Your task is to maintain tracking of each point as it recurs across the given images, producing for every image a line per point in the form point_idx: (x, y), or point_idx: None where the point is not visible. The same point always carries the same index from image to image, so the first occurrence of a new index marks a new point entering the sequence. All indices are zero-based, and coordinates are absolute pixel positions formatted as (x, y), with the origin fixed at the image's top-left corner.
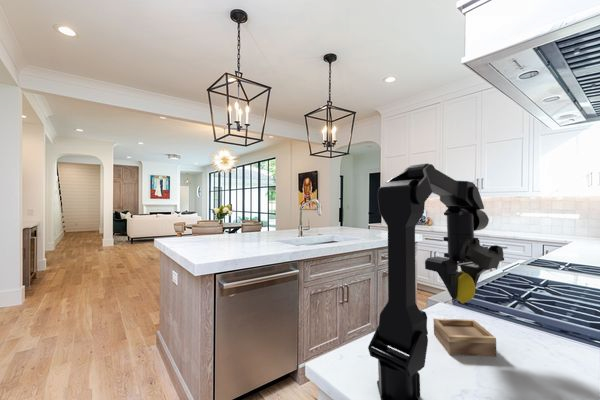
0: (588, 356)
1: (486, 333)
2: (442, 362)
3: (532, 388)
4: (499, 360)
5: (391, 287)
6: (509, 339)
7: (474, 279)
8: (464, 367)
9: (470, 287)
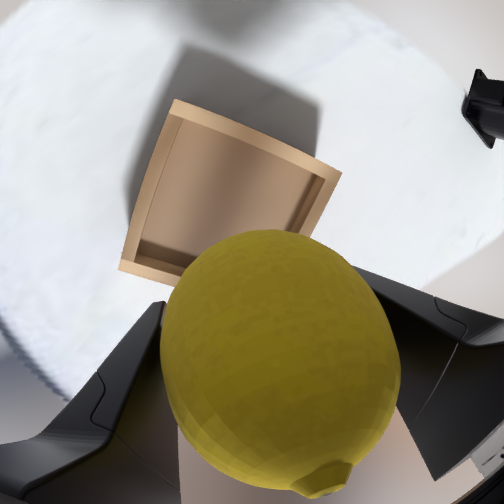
0: None
1: (171, 146)
2: (361, 139)
3: None
4: (190, 83)
5: None
6: (42, 192)
7: (130, 399)
8: (329, 95)
9: (311, 265)
